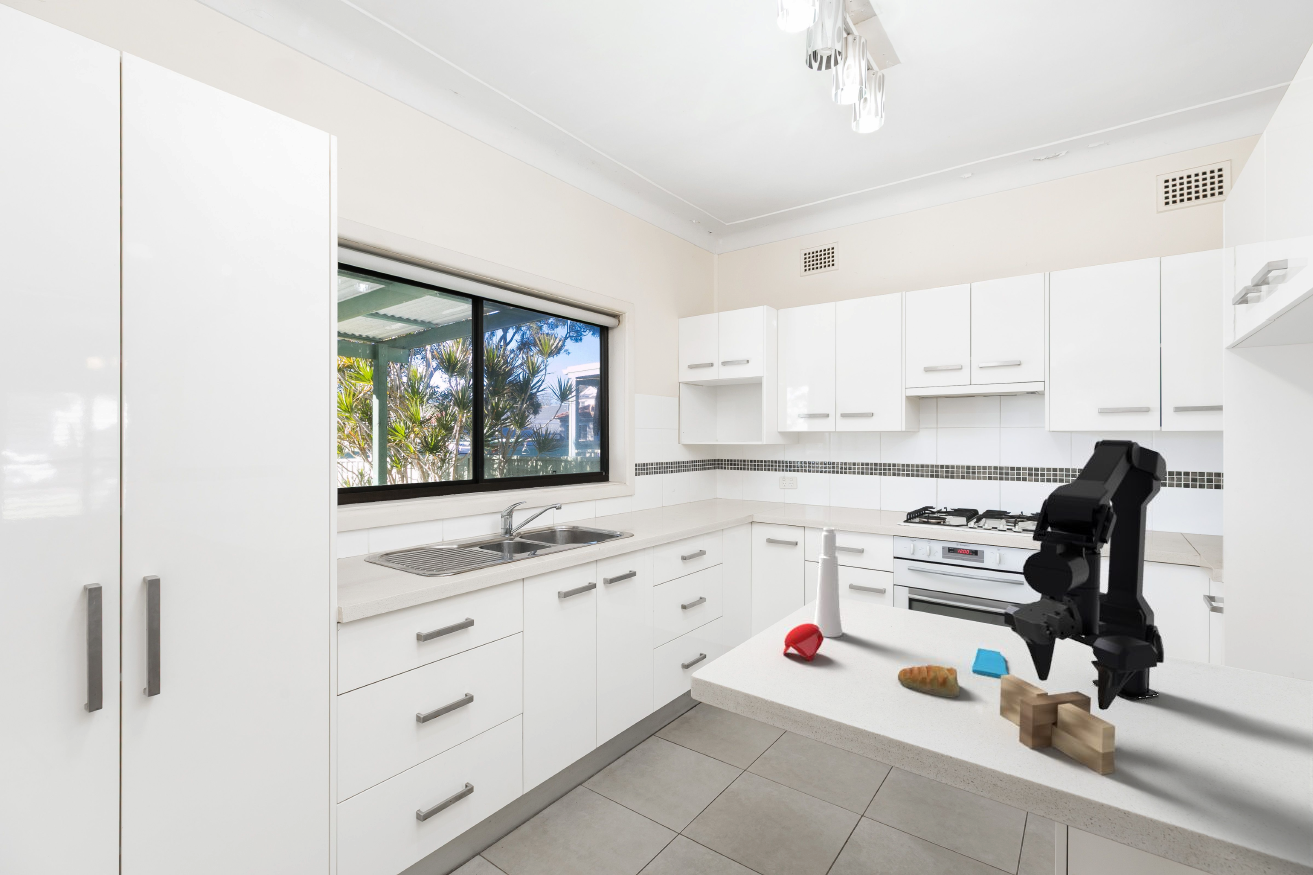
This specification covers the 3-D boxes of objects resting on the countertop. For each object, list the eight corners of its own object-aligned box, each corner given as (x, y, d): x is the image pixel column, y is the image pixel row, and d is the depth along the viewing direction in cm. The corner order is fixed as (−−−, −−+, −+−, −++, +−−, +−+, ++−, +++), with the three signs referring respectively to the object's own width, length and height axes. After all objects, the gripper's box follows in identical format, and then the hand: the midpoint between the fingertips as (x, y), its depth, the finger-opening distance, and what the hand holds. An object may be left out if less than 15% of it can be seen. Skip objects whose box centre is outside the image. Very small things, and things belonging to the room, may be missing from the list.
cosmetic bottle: (843, 638, 123) (845, 531, 123) (812, 636, 125) (814, 529, 124) (841, 628, 129) (843, 526, 128) (812, 626, 130) (813, 524, 130)
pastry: (898, 691, 100) (898, 668, 100) (896, 675, 106) (897, 654, 106) (961, 700, 97) (962, 677, 97) (955, 683, 103) (956, 661, 103)
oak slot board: (999, 714, 92) (1000, 675, 92) (1010, 712, 92) (1011, 674, 92) (1101, 774, 76) (1102, 727, 76) (1113, 772, 77) (1115, 725, 77)
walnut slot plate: (1076, 732, 87) (1077, 691, 87) (1089, 739, 85) (1090, 697, 85) (1019, 741, 84) (1020, 698, 84) (1031, 748, 82) (1032, 705, 82)
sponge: (1012, 654, 114) (977, 644, 117) (1009, 677, 104) (971, 665, 107) (1011, 662, 114) (976, 652, 117) (1008, 685, 104) (970, 674, 107)
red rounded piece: (825, 633, 117) (798, 614, 119) (830, 633, 112) (802, 613, 113) (803, 668, 116) (776, 649, 117) (807, 670, 110) (779, 650, 112)
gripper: (975, 570, 91) (973, 672, 92) (1092, 607, 73) (1088, 734, 74) (1035, 566, 94) (1032, 665, 95) (1162, 601, 76) (1158, 723, 77)
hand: (1071, 693), depth 85 cm, fingers open, 9 cm apart
